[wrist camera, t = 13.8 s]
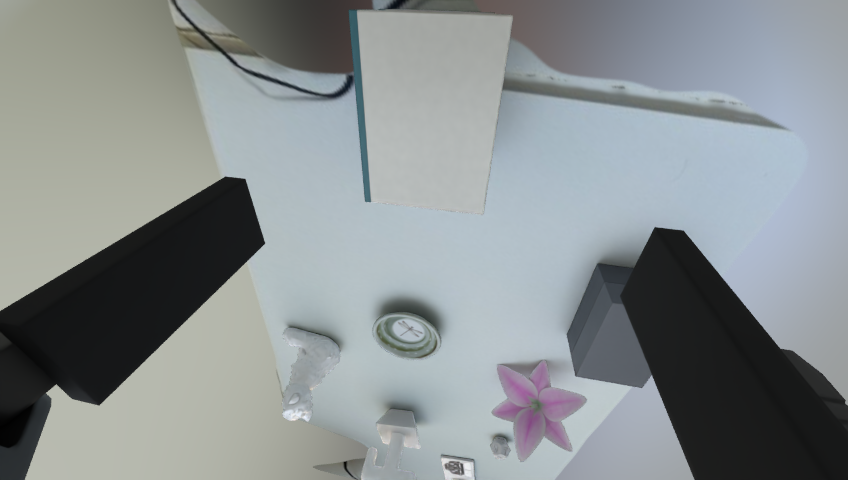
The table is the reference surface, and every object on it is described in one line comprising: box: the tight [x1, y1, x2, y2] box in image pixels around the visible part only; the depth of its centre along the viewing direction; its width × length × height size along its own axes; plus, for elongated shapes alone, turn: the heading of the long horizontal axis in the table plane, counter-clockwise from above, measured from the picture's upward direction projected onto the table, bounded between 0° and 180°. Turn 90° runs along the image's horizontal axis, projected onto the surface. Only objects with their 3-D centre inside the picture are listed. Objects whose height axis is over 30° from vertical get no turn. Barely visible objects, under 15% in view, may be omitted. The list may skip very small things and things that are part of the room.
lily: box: [491, 360, 587, 462], centre depth 46 cm, size 12×12×10 cm
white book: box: [349, 10, 513, 215], centre depth 23 cm, size 12×9×4 cm
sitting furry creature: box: [282, 327, 341, 421], centre depth 49 cm, size 10×9×12 cm
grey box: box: [567, 264, 652, 388], centre depth 37 cm, size 12×7×6 cm, turn 178°
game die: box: [490, 436, 511, 460], centre depth 60 cm, size 4×4×3 cm
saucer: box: [373, 312, 441, 360], centre depth 46 cm, size 10×10×2 cm
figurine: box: [361, 409, 421, 480], centre depth 56 cm, size 7×9×15 cm
